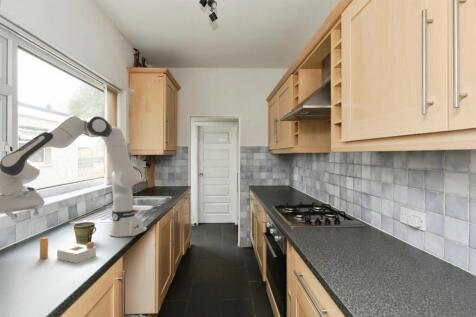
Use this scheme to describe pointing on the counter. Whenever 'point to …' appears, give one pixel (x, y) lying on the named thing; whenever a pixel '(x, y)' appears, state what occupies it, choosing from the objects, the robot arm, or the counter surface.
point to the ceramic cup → (84, 232)
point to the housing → (77, 252)
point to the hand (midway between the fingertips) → (26, 216)
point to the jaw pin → (44, 248)
